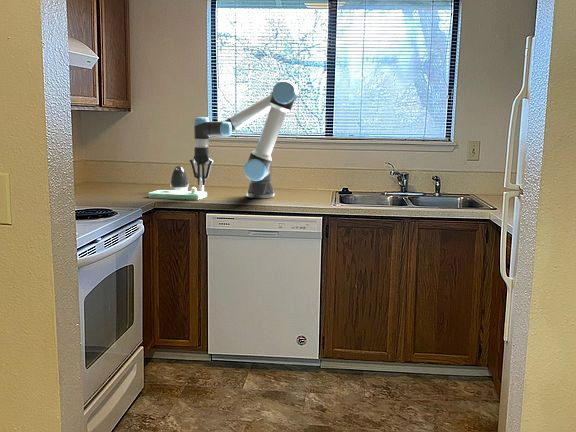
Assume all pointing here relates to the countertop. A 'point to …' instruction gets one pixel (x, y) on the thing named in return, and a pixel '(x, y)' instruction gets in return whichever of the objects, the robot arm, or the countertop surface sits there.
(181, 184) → the dark grey egg shape
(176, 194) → the green
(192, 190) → the ball
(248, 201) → the countertop surface
